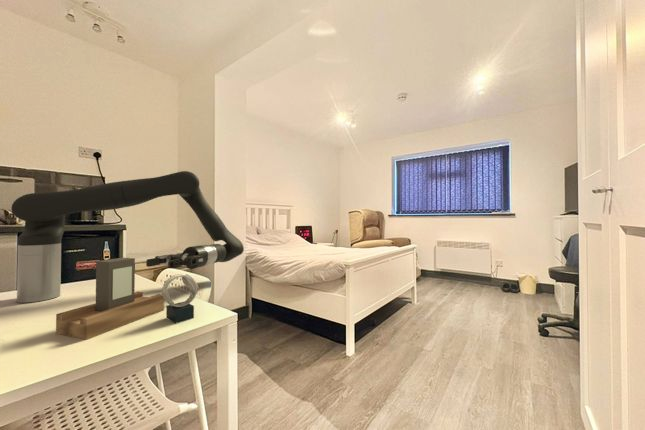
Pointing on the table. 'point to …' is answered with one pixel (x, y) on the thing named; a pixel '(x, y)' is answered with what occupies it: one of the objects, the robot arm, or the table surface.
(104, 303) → the tall taupe pillar block
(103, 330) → the wooden channel tray
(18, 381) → the table surface
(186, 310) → the watch
